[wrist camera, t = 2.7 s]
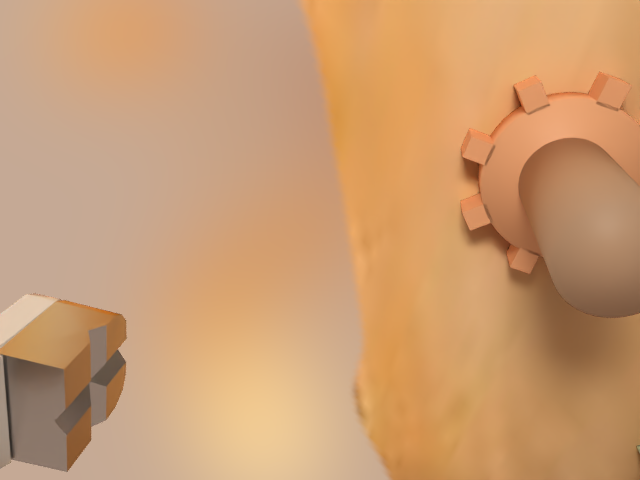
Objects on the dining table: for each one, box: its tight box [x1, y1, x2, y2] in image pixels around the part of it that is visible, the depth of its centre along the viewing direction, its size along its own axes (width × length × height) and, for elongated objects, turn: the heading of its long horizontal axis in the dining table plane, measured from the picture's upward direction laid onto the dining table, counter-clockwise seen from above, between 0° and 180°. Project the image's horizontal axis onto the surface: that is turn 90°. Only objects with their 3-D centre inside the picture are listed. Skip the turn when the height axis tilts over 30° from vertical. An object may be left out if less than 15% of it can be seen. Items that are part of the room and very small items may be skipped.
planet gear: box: [461, 72, 640, 318], centre depth 29 cm, size 11×11×12 cm
